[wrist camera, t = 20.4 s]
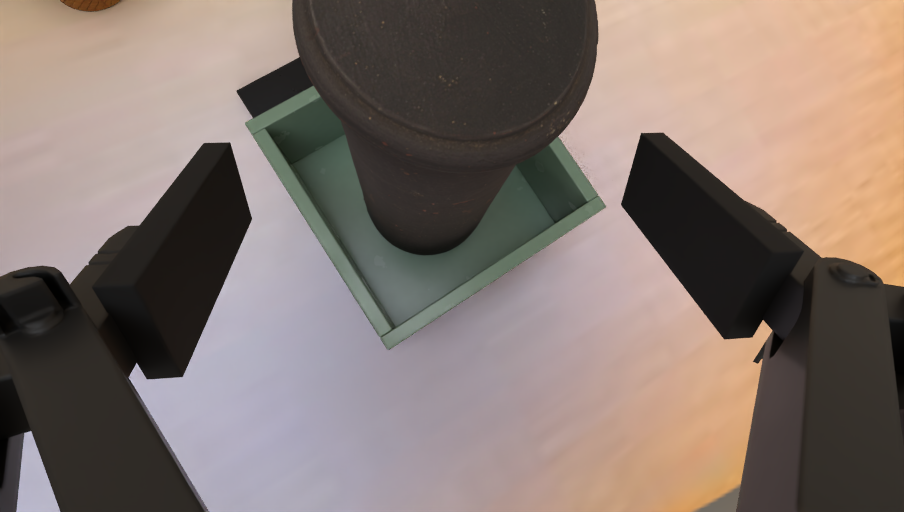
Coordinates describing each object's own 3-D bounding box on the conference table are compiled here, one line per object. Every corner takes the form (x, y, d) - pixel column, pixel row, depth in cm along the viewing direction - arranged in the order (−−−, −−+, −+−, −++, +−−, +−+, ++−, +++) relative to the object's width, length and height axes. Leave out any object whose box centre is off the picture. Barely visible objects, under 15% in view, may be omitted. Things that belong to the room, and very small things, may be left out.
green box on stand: (239, 95, 36) (-100, -349, 12) (397, 11, 38) (374, -507, 14) (394, 341, 35) (358, 389, 11) (550, 239, 37) (812, 87, 13)
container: (475, 124, 33) (574, -177, 13) (500, 248, 31) (652, 127, 12) (352, 143, 32) (255, -153, 12) (374, 271, 30) (309, 180, 11)
